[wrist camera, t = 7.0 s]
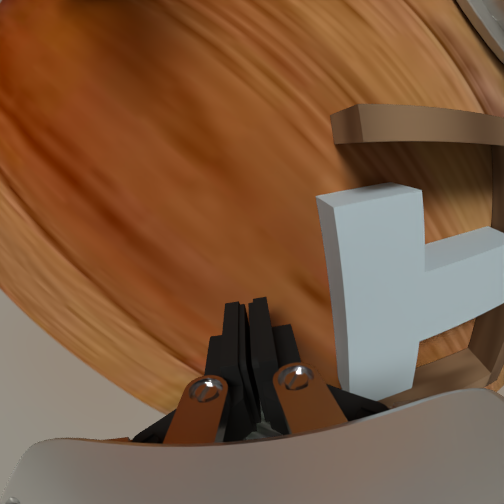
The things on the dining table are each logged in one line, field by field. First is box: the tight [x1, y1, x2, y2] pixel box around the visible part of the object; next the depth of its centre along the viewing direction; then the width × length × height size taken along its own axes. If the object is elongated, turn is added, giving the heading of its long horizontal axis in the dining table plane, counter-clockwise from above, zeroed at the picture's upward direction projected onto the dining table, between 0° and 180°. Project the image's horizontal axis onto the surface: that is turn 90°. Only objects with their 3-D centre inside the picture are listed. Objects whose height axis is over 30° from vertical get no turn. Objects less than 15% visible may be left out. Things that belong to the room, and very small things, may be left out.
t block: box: [316, 182, 504, 401], centre depth 12 cm, size 10×10×2 cm
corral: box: [330, 104, 504, 406], centre depth 11 cm, size 11×15×3 cm
